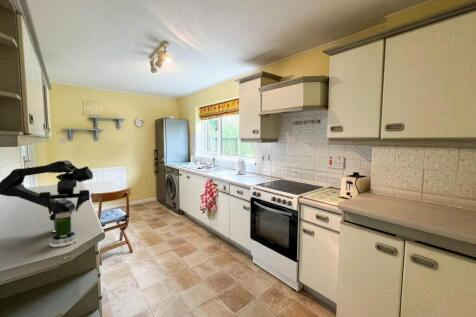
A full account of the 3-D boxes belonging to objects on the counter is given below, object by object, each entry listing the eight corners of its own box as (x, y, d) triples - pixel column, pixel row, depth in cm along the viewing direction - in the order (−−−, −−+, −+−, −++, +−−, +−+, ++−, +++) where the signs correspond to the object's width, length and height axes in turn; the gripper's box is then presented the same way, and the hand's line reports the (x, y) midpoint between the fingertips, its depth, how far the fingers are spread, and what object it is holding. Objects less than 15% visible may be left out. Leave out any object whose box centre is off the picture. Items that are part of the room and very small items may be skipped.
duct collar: (52, 240, 97) (52, 233, 97) (79, 236, 102) (79, 229, 102) (45, 249, 89) (45, 242, 88) (76, 244, 93) (76, 237, 93)
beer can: (72, 240, 96) (72, 214, 95) (56, 244, 92) (56, 216, 91) (70, 237, 99) (69, 211, 99) (54, 240, 95) (54, 213, 95)
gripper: (38, 174, 97) (31, 205, 88) (89, 173, 107) (87, 201, 98) (43, 188, 104) (37, 218, 95) (90, 186, 114) (88, 213, 105)
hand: (63, 212), depth 98 cm, fingers open, 9 cm apart
